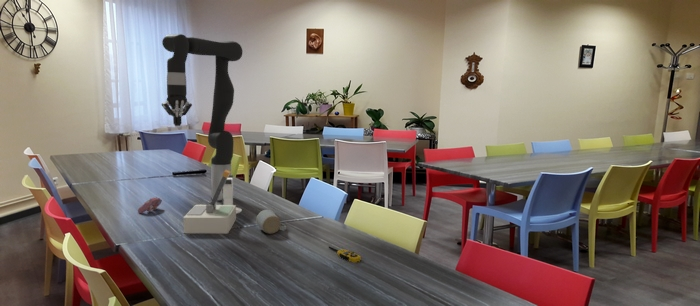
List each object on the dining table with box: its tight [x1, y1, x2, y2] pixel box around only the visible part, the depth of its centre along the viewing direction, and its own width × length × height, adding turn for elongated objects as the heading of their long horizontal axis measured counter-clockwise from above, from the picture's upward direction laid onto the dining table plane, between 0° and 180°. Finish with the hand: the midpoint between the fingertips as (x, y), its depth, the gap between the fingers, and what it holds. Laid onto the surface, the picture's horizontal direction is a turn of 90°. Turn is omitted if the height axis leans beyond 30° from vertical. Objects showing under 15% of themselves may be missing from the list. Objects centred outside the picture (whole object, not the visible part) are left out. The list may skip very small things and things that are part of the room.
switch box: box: [182, 200, 237, 234], centre depth 169 cm, size 16×18×9 cm
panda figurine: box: [221, 174, 242, 215], centre depth 190 cm, size 12×11×15 cm
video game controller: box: [137, 196, 163, 214], centre depth 186 cm, size 10×5×7 cm, turn 169°
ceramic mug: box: [255, 209, 287, 235], centre depth 166 cm, size 11×8×8 cm
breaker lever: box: [210, 170, 232, 209], centre depth 168 cm, size 2×4×17 cm, turn 6°
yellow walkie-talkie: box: [328, 245, 362, 263], centre depth 145 cm, size 5×2×15 cm
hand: (177, 125), depth 182 cm, fingers closed
